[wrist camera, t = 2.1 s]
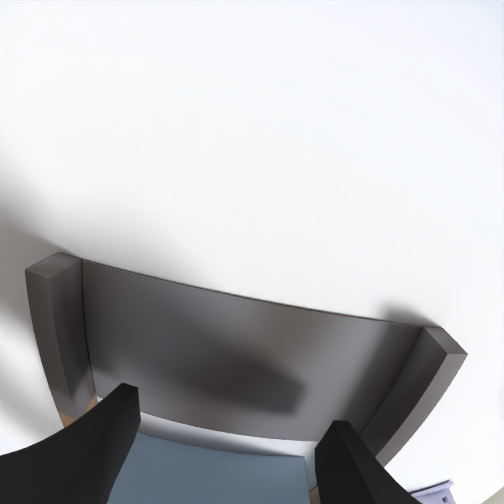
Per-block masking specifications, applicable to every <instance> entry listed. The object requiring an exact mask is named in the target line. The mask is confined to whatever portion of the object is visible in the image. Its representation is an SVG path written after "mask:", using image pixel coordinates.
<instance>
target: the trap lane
mask: <svg viewBox="0 0 504 504" xmlns="http://www.w3.org/2000/svg"><path fill="white" fill-rule="evenodd" d="M82 270H83V290H82ZM25 276H26V284H27V292H28V299H29V306H30V312H31V317H32V323H33V328H34V333H35V337H36V342H37V346H38V350H39V354H40V358H41V361H42V365H43V368H44V372H45V375H46V378H47V382H48V385H49V388H50V391H51V394H52V396H53V399H54V402H55V405H56V407H57V410H58V413H59V415H60V418H61V420H62V423H63V425H64V427H67V426H68V425H70V424H71V423H72V422H74V421H75V420H77V419H78V418H80V417H81V416H82V415H84V414H85V413H86V412H88V411H89V410H90V409H91V408H93V407H94V406H95V405H97V404H98V402H97V397H96V395H97V396H98V397H100V398H103V399H104V398H105V397H106V396H107V395H108V394H109V393H111V392H112V391H113V390H114V389H115V388H116V387H117V386H118V385H119V384H121V383H126V384H129V385H132V386H136V387H138V392H139V405H140V412H143V413H146V414H149V415H153V416H156V417H160V418H163V419H167V420H171V421H174V422H178V423H182V424H187V425H191V426H195V427H200V428H205V429H210V430H215V431H220V432H226V433H232V434H239V435H245V436H253V437H261V438H271V439H282V440H296V441H321V439H322V438H323V436H324V435H325V433H326V431H327V430H328V428H329V427H330V425H331V424H332V422H333V420H345V421H349V423H350V424H351V425H352V427H353V428H354V430H355V431H356V432H357V434H358V435H359V437H360V438H361V439H362V441H363V442H364V443H365V445H366V446H367V447H368V449H369V450H370V451H371V453H372V454H373V455H374V457H375V458H376V459H377V460H378V462H379V463H380V464H381V465H382V466H383V468H384V467H385V466H386V465H387V464H388V463H389V462H390V461H391V459H392V458H393V457H394V456H395V455H396V454H397V453H398V452H399V451H400V450H401V449H402V447H403V446H404V445H405V444H406V443H407V442H408V441H409V439H410V438H411V437H412V436H413V435H414V433H415V432H416V431H417V430H418V428H419V427H420V426H421V425H422V423H423V422H424V421H425V419H426V418H427V417H428V415H429V414H430V413H431V411H432V410H433V409H434V407H435V406H436V404H437V403H438V402H439V400H440V399H441V397H442V396H443V394H444V393H445V391H446V390H447V388H448V387H449V385H450V384H451V382H452V381H453V379H454V377H455V376H456V374H457V372H458V371H459V369H460V367H461V366H462V364H463V362H464V360H465V359H466V357H467V355H468V354H467V353H466V352H465V350H464V349H463V348H462V347H461V346H460V345H459V344H458V343H457V342H456V341H455V340H454V339H453V338H452V337H451V336H450V335H449V334H448V333H447V332H446V331H445V330H444V329H443V328H436V327H427V326H423V327H422V326H418V325H409V324H401V323H393V322H386V321H378V320H371V319H364V318H357V317H351V316H344V315H338V314H331V313H325V312H319V311H313V310H307V309H301V308H296V307H290V306H284V305H279V304H274V303H268V302H263V301H258V300H253V299H248V298H243V297H238V296H233V295H228V294H223V293H218V292H214V291H209V290H204V289H200V288H195V287H191V286H186V285H182V284H178V283H173V282H169V281H165V280H160V279H156V278H152V277H148V276H144V275H140V274H136V273H132V272H128V271H124V270H120V269H116V268H113V267H109V266H105V265H101V264H98V263H94V262H90V261H87V260H82V259H80V258H76V257H72V256H69V255H66V254H62V253H59V252H58V253H56V254H54V255H52V256H50V257H48V258H46V259H44V260H42V261H40V262H38V263H36V264H34V265H33V266H31V267H29V268H27V269H25ZM83 297H84V307H83ZM84 312H85V319H84ZM85 323H86V329H85ZM86 333H87V338H86ZM418 335H419V336H418ZM417 337H418V338H417ZM416 339H417V340H416ZM87 341H88V346H87ZM415 341H416V342H415ZM414 343H415V344H414ZM413 345H414V346H413ZM412 347H413V348H412ZM88 349H89V353H88ZM411 349H412V350H411ZM410 351H411V352H410ZM409 353H410V354H409ZM408 355H409V356H408ZM89 356H90V360H89ZM90 363H91V366H90ZM402 366H403V367H402ZM401 368H402V369H401ZM91 369H92V372H91ZM92 374H93V377H92ZM397 375H398V376H397ZM93 380H94V383H93ZM393 382H394V383H393ZM94 385H95V388H94ZM390 387H391V388H390ZM95 390H96V393H95ZM387 392H388V393H387ZM385 395H386V396H385ZM382 400H383V401H382ZM380 403H381V404H380ZM378 406H379V407H378ZM370 418H371V419H370ZM368 421H369V422H368ZM363 428H364V429H363ZM309 499H310V504H321V503H320V497H319V491H318V485H317V486H316V487H315V488H314V489H313V490H312V491H311V492H310V493H309Z"/></svg>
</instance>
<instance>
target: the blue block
mask: <svg viewBox="0 0 504 504" xmlns="http://www.w3.org/2000/svg"><path fill="white" fill-rule="evenodd" d="M107 504H310V499H309V490H308V482H307V473H306V465H305V457H289V456H267V455H254V454H243V453H234V452H227V451H219V450H213V449H207V448H201V447H196V446H190V445H186V444H181V443H176V442H172V441H168V440H164V439H160V438H156V437H152V436H148V435H145V434H141V433H138V432H137V434H136V437H135V440H134V442H133V445H132V447H131V449H130V451H129V453H128V455H127V457H126V460H125V462H124V464H123V466H122V468H121V470H120V472H119V474H118V476H117V479H116V481H115V483H114V485H113V488H112V490H111V493H110V497H109V500H108V503H107Z"/></svg>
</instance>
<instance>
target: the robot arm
mask: <svg viewBox="0 0 504 504" xmlns="http://www.w3.org/2000/svg"><path fill="white" fill-rule="evenodd" d="M140 421H141V417H140V405H139V392H138V387H136V386H132V385H129V384H126V383H121V384H119V385H118V386H117V387H116V388H115V389H114V390H113V391H112V392H111V393H109V394H108V395H107V396H106V397H105V398H104V399H103V400H101V401H100V402H99V403H98V404H97V405H95V406H94V407H93V408H91V409H90V410H89V411H88V412H86V413H85V414H84V415H82V416H81V417H80V418H78V419H77V420H75V421H74V422H72V423H71V424H70V425H68V426H67V427H65V428H64V429H62V430H60V431H59V432H57V433H55V434H53V435H52V436H50V437H48V438H46V439H44V440H42V441H40V442H38V443H35V444H33V445H31V446H29V447H26V448H23V449H21V450H18V451H15V452H11V453H8V454H4V455H1V456H0V504H107V503H108V500H109V497H110V493H111V490H112V488H113V485H114V483H115V481H116V479H117V476H118V474H119V472H120V470H121V468H122V466H123V464H124V462H125V460H126V457H127V455H128V453H129V451H130V449H131V447H132V445H133V442H134V440H135V437H136V434H137V431H138V428H139V424H140ZM315 472H316V479H317V485H318V491H319V497H320V503H321V504H456V503H455V501H454V499H453V496H452V494H451V492H450V489H449V488H450V487H451V486H452V485H453V484H454V483H453V481H450V482H448V483H445V484H442V485H439V486H436V487H433V488H430V489H427V490H423V491H420V492H416V493H413V494H409V493H408V492H407V491H406V490H405V489H404V488H403V487H401V486H400V485H399V484H398V483H397V482H396V481H395V480H394V479H393V478H392V476H391V475H390V474H389V473H388V472H387V471H386V470H385V469H384V468H383V466H382V465H381V464H380V463H379V462H378V460H377V459H376V458H375V457H374V455H373V454H372V453H371V451H370V450H369V449H368V447H367V446H366V445H365V443H364V442H363V441H362V439H361V438H360V437H359V435H358V434H357V432H356V431H355V430H354V428H353V427H352V425H351V424H350V423H349V421H345V420H333V422H332V424H331V425H330V427H329V428H328V430H327V431H326V433H325V435H324V436H323V438H322V439H321V441H320V442H319V444H318V445H317V447H316V448H315Z"/></svg>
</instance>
